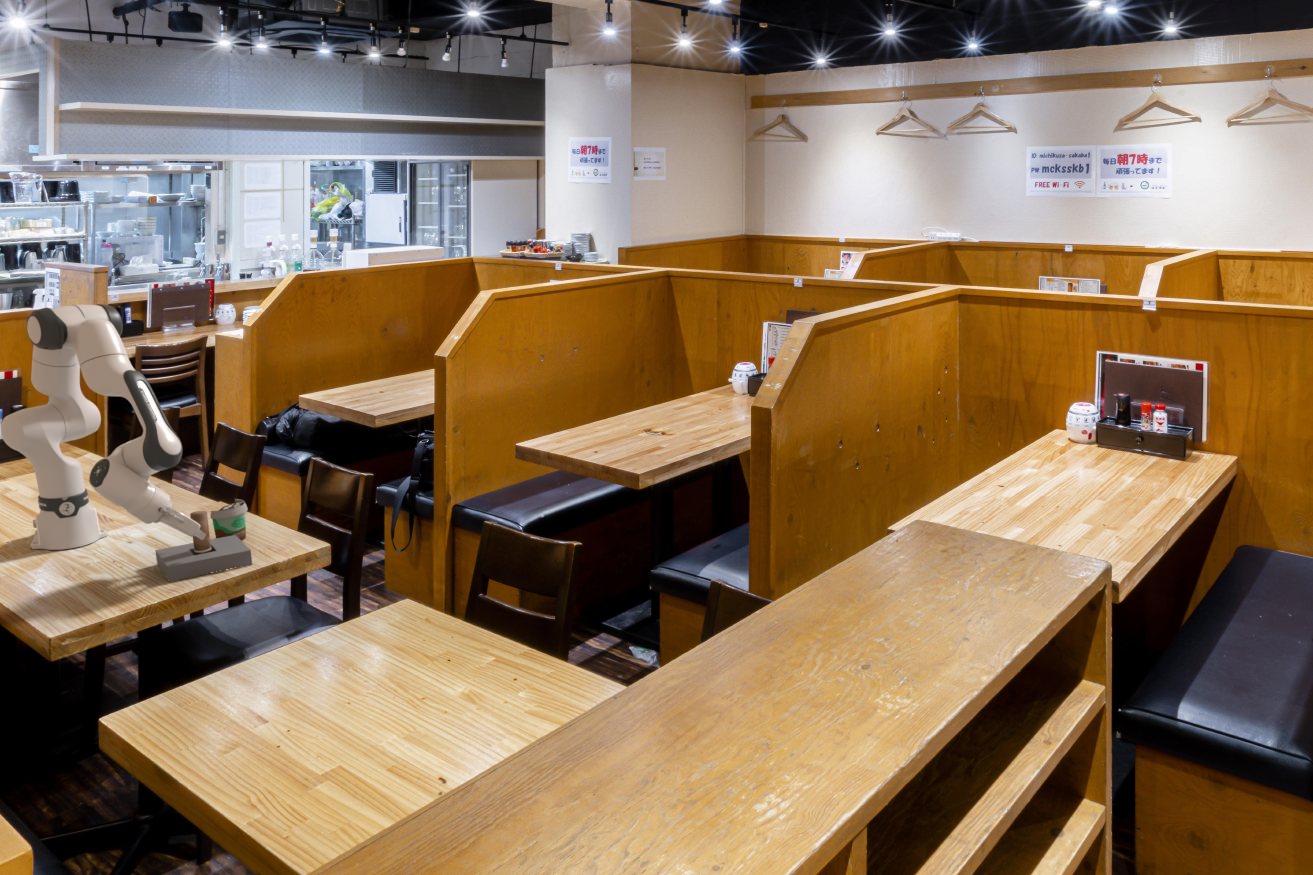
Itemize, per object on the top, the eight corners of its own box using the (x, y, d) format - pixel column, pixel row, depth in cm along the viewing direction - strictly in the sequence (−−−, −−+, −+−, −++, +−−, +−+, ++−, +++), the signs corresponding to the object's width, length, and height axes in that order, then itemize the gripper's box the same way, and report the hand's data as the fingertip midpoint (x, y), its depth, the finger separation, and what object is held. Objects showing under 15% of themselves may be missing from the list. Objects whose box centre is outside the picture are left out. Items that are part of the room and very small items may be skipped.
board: (157, 564, 274) (155, 550, 273) (237, 548, 285) (235, 534, 284) (169, 581, 262) (167, 566, 261) (252, 564, 273) (250, 550, 272)
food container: (234, 547, 286) (230, 512, 284) (213, 546, 287) (209, 511, 285) (259, 533, 298) (255, 499, 295) (239, 531, 299) (236, 498, 297)
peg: (193, 563, 274) (188, 512, 271) (210, 560, 276) (205, 509, 273) (197, 568, 271) (191, 516, 267) (214, 565, 273) (209, 513, 270)
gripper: (178, 502, 255) (221, 531, 265) (142, 487, 269) (185, 514, 278) (161, 524, 253) (206, 552, 262) (127, 507, 267) (170, 534, 276)
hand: (195, 532), depth 270 cm, fingers open, 8 cm apart
